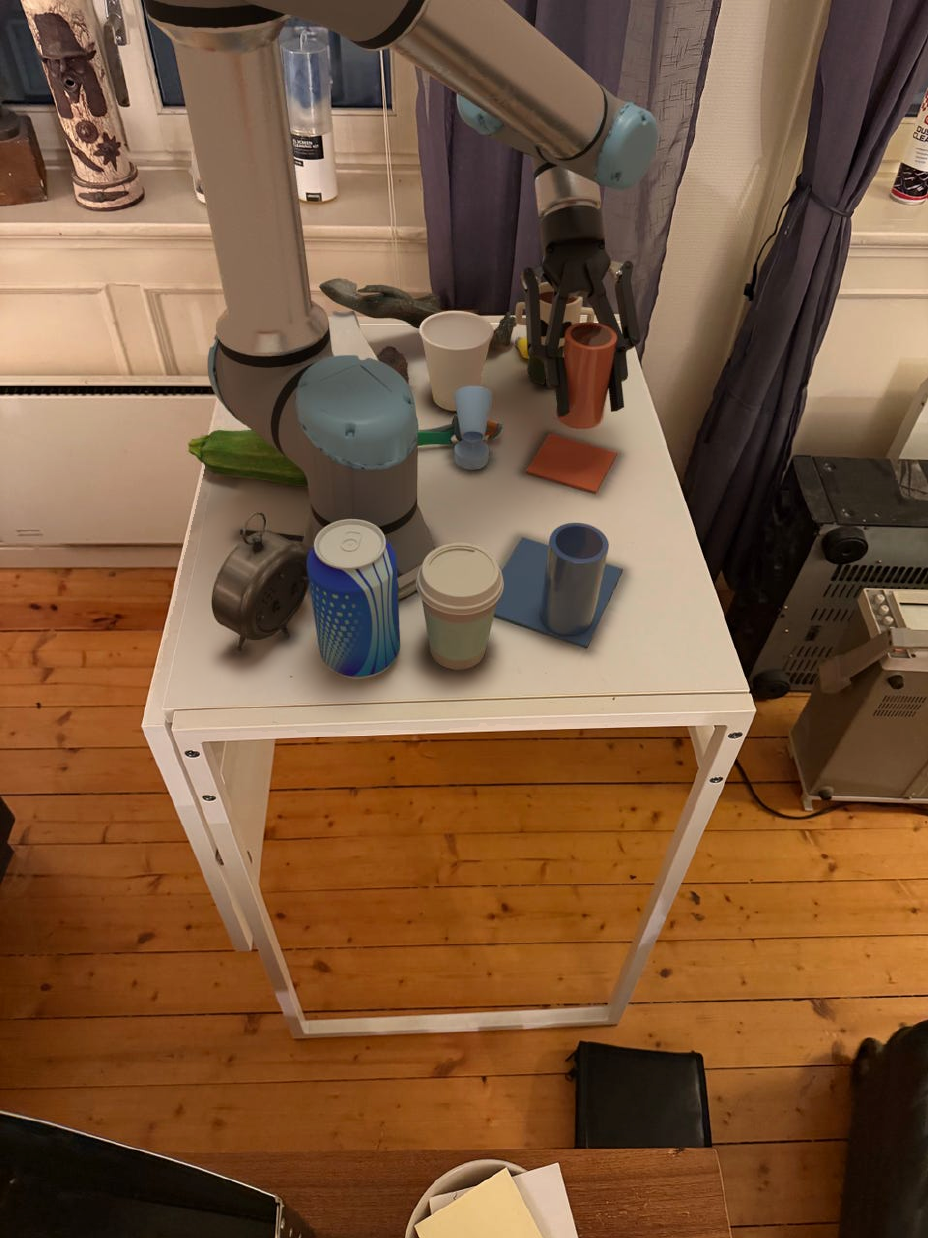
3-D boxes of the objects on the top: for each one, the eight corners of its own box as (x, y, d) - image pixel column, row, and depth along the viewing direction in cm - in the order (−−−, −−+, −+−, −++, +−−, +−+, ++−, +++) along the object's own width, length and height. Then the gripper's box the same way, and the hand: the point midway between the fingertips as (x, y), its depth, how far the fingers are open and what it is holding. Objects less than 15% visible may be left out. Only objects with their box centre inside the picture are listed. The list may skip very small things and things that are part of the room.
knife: (499, 435, 118) (501, 403, 114) (503, 443, 117) (506, 412, 113) (354, 454, 114) (351, 423, 110) (357, 463, 113) (354, 432, 109)
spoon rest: (390, 428, 118) (388, 382, 113) (303, 432, 117) (297, 386, 111) (382, 337, 134) (380, 293, 128) (305, 340, 132) (299, 295, 127)
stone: (376, 401, 123) (411, 401, 124) (376, 388, 121) (412, 388, 122) (371, 354, 130) (405, 355, 130) (372, 341, 128) (406, 341, 128)
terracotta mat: (525, 473, 113) (525, 470, 112) (549, 435, 118) (549, 433, 118) (595, 493, 110) (596, 491, 110) (616, 454, 116) (617, 452, 115)
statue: (530, 311, 128) (332, 254, 116) (520, 352, 129) (324, 300, 118) (503, 314, 137) (317, 261, 125) (495, 352, 138) (310, 304, 127)
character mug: (508, 386, 125) (515, 302, 116) (512, 360, 130) (519, 277, 121) (584, 393, 125) (596, 309, 115) (585, 366, 130) (597, 283, 120)
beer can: (416, 655, 92) (414, 544, 80) (355, 699, 87) (343, 588, 76) (365, 612, 95) (356, 500, 84) (304, 652, 91) (285, 540, 80)
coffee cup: (500, 623, 95) (507, 542, 86) (494, 684, 89) (501, 604, 80) (423, 615, 95) (422, 534, 86) (412, 676, 90) (410, 596, 81)
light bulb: (524, 353, 128) (539, 333, 127) (503, 342, 132) (518, 324, 132) (536, 367, 130) (551, 348, 130) (515, 356, 134) (530, 338, 134)
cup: (466, 428, 119) (468, 357, 111) (406, 405, 122) (404, 334, 114) (502, 394, 124) (507, 324, 116) (444, 373, 128) (445, 303, 120)
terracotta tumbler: (548, 421, 108) (558, 340, 99) (564, 396, 111) (575, 316, 103) (594, 434, 106) (608, 353, 98) (609, 408, 110) (623, 328, 101)
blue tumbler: (531, 625, 94) (540, 551, 86) (550, 589, 98) (561, 515, 90) (583, 643, 93) (598, 569, 85) (600, 606, 96) (616, 532, 88)
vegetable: (332, 481, 103) (170, 469, 105) (344, 496, 111) (192, 484, 112) (338, 422, 104) (177, 410, 106) (350, 440, 111) (199, 429, 113)
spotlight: (452, 440, 117) (452, 472, 112) (454, 375, 109) (453, 407, 105) (489, 441, 117) (490, 473, 112) (493, 376, 109) (494, 408, 105)
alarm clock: (287, 589, 97) (267, 474, 85) (325, 608, 96) (310, 494, 84) (220, 651, 91) (188, 538, 79) (260, 673, 89) (233, 560, 77)
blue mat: (479, 611, 96) (479, 608, 96) (521, 539, 104) (522, 536, 104) (586, 648, 93) (587, 646, 93) (622, 571, 101) (623, 568, 101)
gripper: (635, 223, 108) (654, 410, 109) (485, 232, 105) (507, 424, 106) (657, 197, 100) (677, 398, 102) (497, 206, 97) (520, 413, 99)
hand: (590, 411), depth 104 cm, fingers closed on terracotta tumbler, 6 cm apart
